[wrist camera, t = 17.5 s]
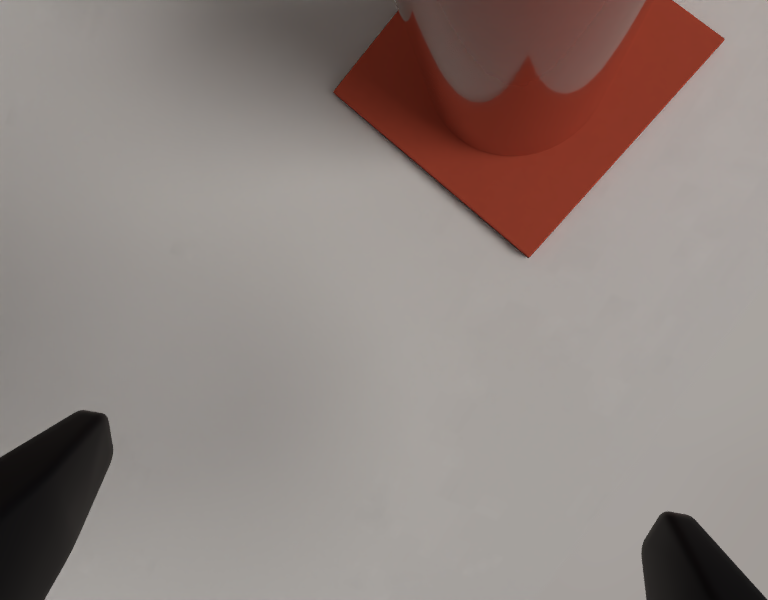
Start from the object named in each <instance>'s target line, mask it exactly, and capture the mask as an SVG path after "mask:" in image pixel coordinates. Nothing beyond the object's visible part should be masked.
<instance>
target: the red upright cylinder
mask: <svg viewBox="0 0 768 600" xmlns="http://www.w3.org/2000/svg"><path fill="white" fill-rule="evenodd" d="M653 1H654V0H395V2H396V5H397V7H398V10H399V13H400V16H401V19H402V21H403V24H404V27H405V30H406V32H407V35H408V38H409V41H410V44H411V46H412V49H413V52H414V55H415V58H416V60H417V63H418V66H419V69H420V71H421V74H422V77H423V80H424V83H425V85H426V88H427V91H428V94H429V97H430V99H431V102H432V105H433V107H434V109H435V111H436V113H437V115H438V116H439V118H440V119H441V121H442V123H443V124H444V125H445V126H446V127H447V128H448V130H449V131H450V132H451V133H452V134H454V135H455V136H456V137H457V138H458V139H459V140H461V141H462V142H464V143H466V144H467V145H469V146H471V147H473V148H475V149H477V150H479V151H482V152H486V153H489V154H493V155H499V156H513V157H514V156H526V155H530V154H535V153H539V152H542V151H545V150H548V149H550V148H552V147H554V146H556V145H558V144H560V143H562V142H564V141H565V140H567V139H568V138H570V137H571V136H572V135H574V134H575V133H576V132H577V131H578V130H579V129H581V128H582V127H583V125H584V124H585V123H586V122H587V121H588V120H589V119H590V118H591V116H592V115H593V113H594V112H595V111H596V109H597V107H598V106H599V104H600V102H601V100H602V98H603V96H604V94H605V93H606V91H607V89H608V87H609V85H610V83H611V81H612V79H613V77H614V75H615V73H616V72H617V70H618V68H619V66H620V64H621V62H622V60H623V58H624V56H625V54H626V52H627V51H628V49H629V47H630V45H631V43H632V41H633V39H634V37H635V35H636V33H637V31H638V30H639V28H640V26H641V24H642V22H643V20H644V18H645V16H646V14H647V12H648V10H649V9H650V7H651V5H652V3H653Z"/></svg>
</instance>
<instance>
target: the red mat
mask: <svg viewBox="0 0 768 600" xmlns="http://www.w3.org/2000/svg"><path fill="white" fill-rule="evenodd" d="M723 41H724V38H723V37H721V36H720V35H719V34H717V33H716V32H715V31H713V30H712V29H711V28H709V27H708V26H706V25H705V24H704V23H702V22H701V21H700V20H698V19H697V18H696V17H694V16H693V15H692V14H690V13H689V12H687V11H686V10H685V9H683V8H682V7H681V6H679V5H678V4H677V3H675V2H674V1H673V0H654V1H653V3H652V5H651V7H650V9H649V10H648V12H647V14H646V16H645V18H644V20H643V22H642V24H641V26H640V28H639V30H638V31H637V33H636V35H635V37H634V39H633V41H632V43H631V45H630V47H629V49H628V51H627V52H626V54H625V56H624V58H623V60H622V62H621V64H620V66H619V68H618V70H617V72H616V73H615V75H614V77H613V79H612V81H611V83H610V85H609V87H608V89H607V91H606V93H605V94H604V96H603V98H602V100H601V102H600V104H599V106H598V107H597V109H596V111H595V112H594V113H593V115H592V116H591V118H590V119H589V120H588V121H587V122H586V123H585V124H584V125H583V127H582V128H581V129H579V130H578V131H577V132H576V133H575V134H574V135H572V136H571V137H570V138H568V139H567V140H565V141H564V142H562V143H560V144H558V145H556V146H554V147H552V148H550V149H548V150H545V151H542V152H539V153H535V154H530V155H526V156H514V157H513V156H499V155H493V154H489V153H486V152H482V151H479V150H477V149H475V148H473V147H471V146H469V145H467V144H466V143H464V142H462V141H461V140H459V139H458V138H457V137H456V136H455V135H454V134H452V133H451V132H450V131H449V130H448V128H447V127H446V126H445V125H444V124H443V123H442V121H441V119H440V118H439V116H438V115H437V113H436V111H435V109H434V107H433V105H432V102H431V99H430V97H429V94H428V91H427V88H426V85H425V83H424V80H423V77H422V74H421V71H420V69H419V66H418V63H417V60H416V58H415V55H414V52H413V49H412V46H411V44H410V41H409V38H408V35H407V32H406V30H405V27H404V24H403V21H402V19H401V16H400V13H399V10H398V11H397V13H396V14H395V15H394V16H393V18H392V19H391V20H390V21H389V23H388V24H387V25H386V26H385V28H384V29H383V30H382V31H381V33H380V34H379V35H378V36H377V38H376V39H375V40H374V41H373V43H372V44H371V45H370V46H369V48H368V49H367V50H366V51H365V53H364V54H363V55H362V56H361V58H360V59H359V60H358V61H357V63H356V64H355V65H354V66H353V68H352V69H351V70H350V71H349V73H348V74H347V75H346V76H345V78H344V79H343V80H342V81H341V83H340V84H339V85H338V86H337V88H336V89H335V90H334V93H335V95H336V96H338V97H339V98H340V99H341V100H342V101H344V102H345V103H346V104H347V105H348V106H349V107H351V108H352V109H353V110H354V111H355V112H357V113H358V114H359V115H360V116H361V117H362V118H364V119H365V120H366V121H367V122H368V123H370V124H371V125H372V126H373V127H374V128H375V129H377V130H378V131H379V132H380V133H381V134H383V135H384V136H385V137H386V138H387V139H388V140H390V141H391V142H392V143H393V144H394V145H395V146H397V147H398V148H399V149H400V150H401V151H403V152H404V153H405V154H406V155H407V156H408V157H410V158H411V159H412V160H413V161H414V162H416V163H417V164H418V165H419V166H420V167H421V168H423V169H424V170H425V171H426V172H427V173H429V174H430V175H431V176H432V177H433V178H434V179H436V180H437V181H438V182H439V183H440V184H442V185H443V186H444V187H445V188H446V189H447V190H449V191H450V192H451V193H452V194H453V195H455V196H456V197H457V198H458V199H459V200H460V201H462V202H463V203H464V204H465V205H466V206H468V207H469V208H470V209H471V210H472V211H473V212H475V213H476V214H477V215H478V216H479V217H481V218H482V219H483V220H484V221H485V222H486V223H488V224H489V225H490V226H491V227H492V228H494V229H495V230H496V231H497V232H498V233H499V234H501V235H502V236H503V237H504V238H505V239H506V240H508V241H509V242H510V243H511V244H512V245H514V246H515V247H516V248H517V249H518V250H519V251H521V252H522V253H523V254H524V255H525V256H527V257H528V258H529V257H530V256H531V255H532V254H533V253H534V252H535V251H536V249H537V248H538V247H539V246H540V245H541V244H542V243H543V242H544V241H545V239H546V238H547V237H548V236H549V235H550V234H551V233H552V232H553V231H554V229H555V228H556V227H557V226H558V225H559V224H560V223H561V222H562V220H563V219H564V218H565V217H566V216H567V215H568V214H569V213H570V212H571V210H572V209H573V208H574V207H575V206H576V205H577V204H578V203H579V202H580V200H581V199H582V198H583V197H584V196H585V195H586V194H587V193H588V192H589V190H590V189H591V188H592V187H593V186H594V185H595V184H596V183H597V181H598V180H599V179H600V178H601V177H602V176H603V175H604V174H605V173H606V171H607V170H608V169H609V168H610V167H611V166H612V165H613V164H614V163H615V161H616V160H617V159H618V158H619V157H620V156H621V155H622V154H623V153H624V151H625V150H626V149H627V148H628V147H629V146H630V145H631V144H632V142H633V141H634V140H635V139H636V138H637V137H638V136H639V135H640V134H641V132H642V131H643V130H644V129H645V128H646V127H647V126H648V125H649V124H650V122H651V121H652V120H653V119H654V118H655V117H656V116H657V115H658V114H659V112H660V111H661V110H662V109H663V108H664V107H665V106H666V105H667V103H668V102H669V101H670V100H671V99H672V98H673V97H674V96H675V95H676V93H677V92H678V91H679V90H680V89H681V88H682V87H683V86H684V85H685V83H686V82H687V81H688V80H689V79H690V78H691V77H692V76H693V75H694V73H695V72H696V71H697V70H698V69H699V68H700V67H701V66H702V64H703V63H704V62H705V61H706V60H707V59H708V58H709V57H710V56H711V54H712V53H713V52H714V51H715V50H716V49H717V48H718V47H719V46H720V44H721V43H722V42H723Z"/></svg>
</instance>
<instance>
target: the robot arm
mask: <svg viewBox="0 0 768 600" xmlns="http://www.w3.org/2000/svg"><path fill="white" fill-rule="evenodd" d="M112 456H113V444H112V438H111V432H110V426H109V421H108V418H107V416H106V415H105V414H103V413H98V412H92V411H86V410H80V411H77V412H75V413H73V414H72V415H70V416H68V417H67V418H65V419H63V420H62V421H60V422H58V423H57V424H55V425H53V426H52V427H50V428H48V429H47V430H45V431H43V432H42V433H40V434H38V435H37V436H35V437H33V438H32V439H30V440H28V441H27V442H25V443H23V444H22V445H20V446H18V447H17V448H15V449H13V450H12V451H10V452H8V453H7V454H5V455H3V456H2V457H0V600H44V599H45V597H46V596H47V594H48V592H49V590H50V589H51V587H52V585H53V583H54V582H55V580H56V578H57V576H58V575H59V573H60V571H61V569H62V568H63V566H64V564H65V562H66V560H67V559H68V557H69V555H70V553H71V551H72V549H73V547H74V545H75V543H76V540H77V538H78V536H79V534H80V532H81V529H82V527H83V525H84V522H85V520H86V518H87V516H88V513H89V511H90V509H91V506H92V504H93V502H94V500H95V497H96V495H97V493H98V490H99V488H100V486H101V484H102V481H103V479H104V477H105V474H106V472H107V470H108V468H109V465H110V463H111V460H112ZM642 564H643V573H644V581H645V590H646V599H647V600H767V599H766V598H765V597H764V596H763V595H762V593H761V592H760V591H759V590H758V589H757V588H756V587H755V586H754V584H753V583H752V582H751V581H750V580H749V579H748V578H747V577H746V576H745V575H744V573H743V572H742V571H741V570H740V569H739V568H738V567H737V566H736V565H735V564H734V562H733V561H732V560H731V559H730V558H729V557H728V556H727V555H726V553H725V552H724V551H723V550H722V549H721V548H720V547H719V546H718V545H717V543H716V542H715V541H714V540H713V539H712V538H711V537H710V536H709V535H708V534H707V532H706V531H705V530H704V529H703V528H702V527H701V526H700V525H699V524H698V522H696V520H695V519H693V518H692V517H691V516H689V515H685V514H680V513H674V512H664V513H662V514H661V515H660V516H659V517H658V519H657V521H656V522H655V524H654V525H653V527H652V528H651V530H650V532H649V533H648V535H647V536H646V538H645V540H644V542H643V545H642Z"/></svg>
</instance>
